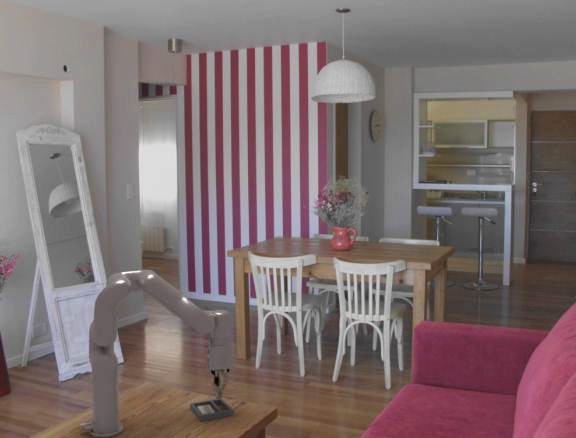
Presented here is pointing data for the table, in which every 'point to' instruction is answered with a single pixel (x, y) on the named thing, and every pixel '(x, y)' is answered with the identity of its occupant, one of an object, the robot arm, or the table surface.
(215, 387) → the birch sheet
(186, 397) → the table surface
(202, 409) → the offcut upper
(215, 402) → the rack
